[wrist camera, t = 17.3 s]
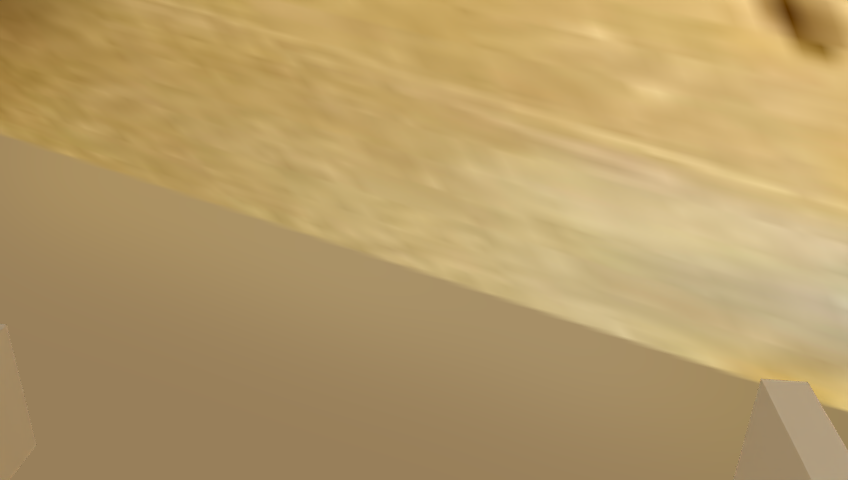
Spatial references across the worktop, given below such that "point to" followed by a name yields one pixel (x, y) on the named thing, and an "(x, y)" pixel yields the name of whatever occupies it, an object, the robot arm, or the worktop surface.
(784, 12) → the worktop surface
